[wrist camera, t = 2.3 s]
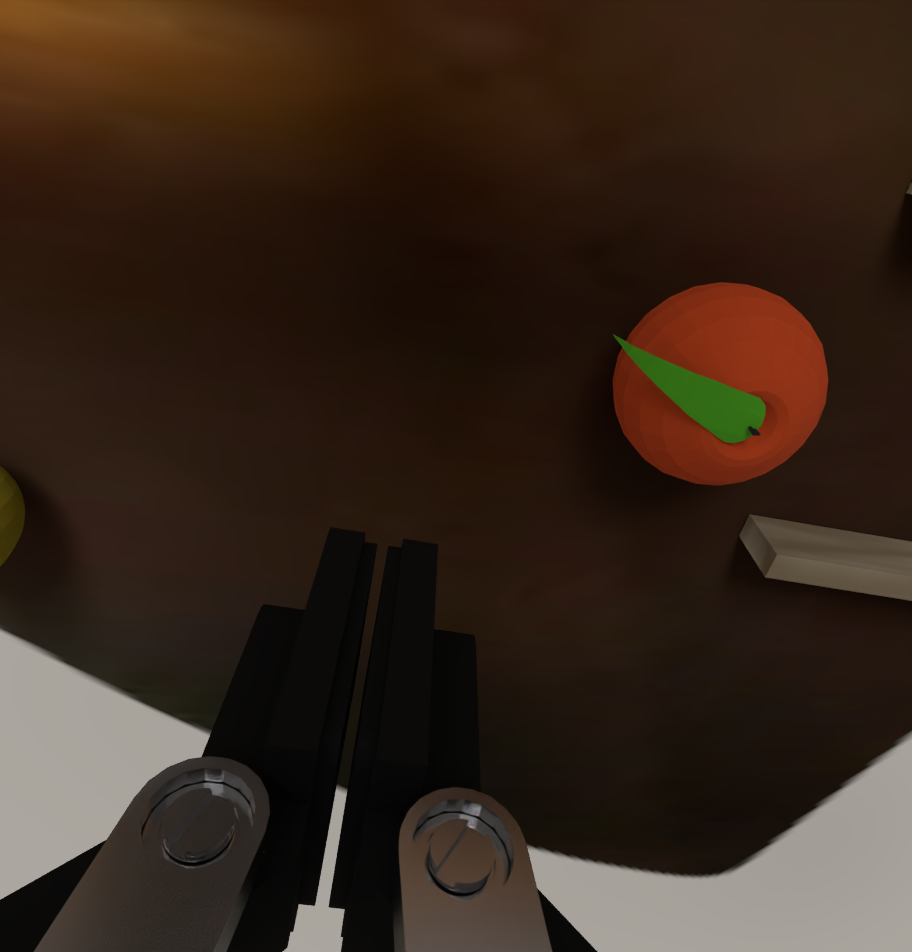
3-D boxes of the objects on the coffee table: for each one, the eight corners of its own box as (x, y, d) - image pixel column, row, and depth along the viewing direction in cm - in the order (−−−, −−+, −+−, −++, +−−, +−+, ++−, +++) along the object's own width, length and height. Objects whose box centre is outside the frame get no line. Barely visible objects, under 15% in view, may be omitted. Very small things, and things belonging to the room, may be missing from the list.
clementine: (540, 375, 27) (565, 459, 21) (642, 211, 24) (707, 253, 18) (700, 457, 29) (767, 558, 22) (814, 316, 26) (928, 387, 19)
